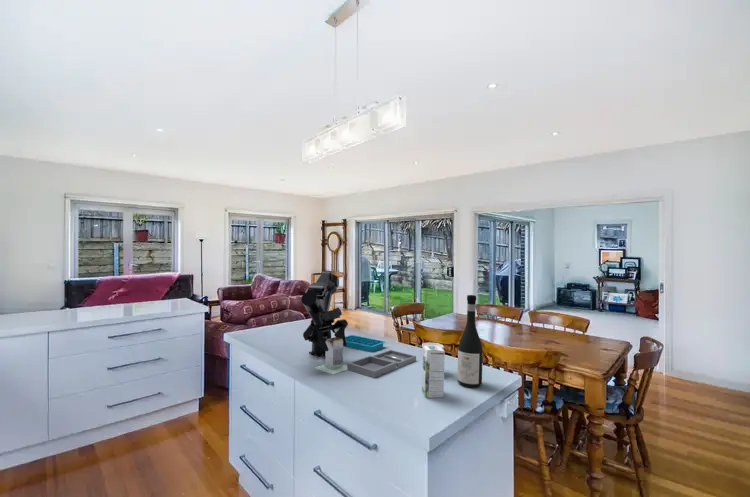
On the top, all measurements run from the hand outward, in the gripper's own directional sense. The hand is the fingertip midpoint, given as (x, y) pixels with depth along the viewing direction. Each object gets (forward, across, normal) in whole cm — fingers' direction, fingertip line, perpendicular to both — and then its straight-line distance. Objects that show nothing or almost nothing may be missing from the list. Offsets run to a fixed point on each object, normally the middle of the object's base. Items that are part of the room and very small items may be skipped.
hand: (336, 348), depth 129 cm
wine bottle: (+36, +21, -24) cm, 48 cm away
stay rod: (+12, +22, -1) cm, 26 cm away
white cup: (+25, +22, -14) cm, 36 cm away
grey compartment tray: (+12, +16, -1) cm, 20 cm away
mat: (+5, 0, +6) cm, 8 cm away
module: (+4, 0, +6) cm, 7 cm away
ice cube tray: (-4, +30, +16) cm, 34 cm away
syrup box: (+32, +5, -21) cm, 39 cm away
